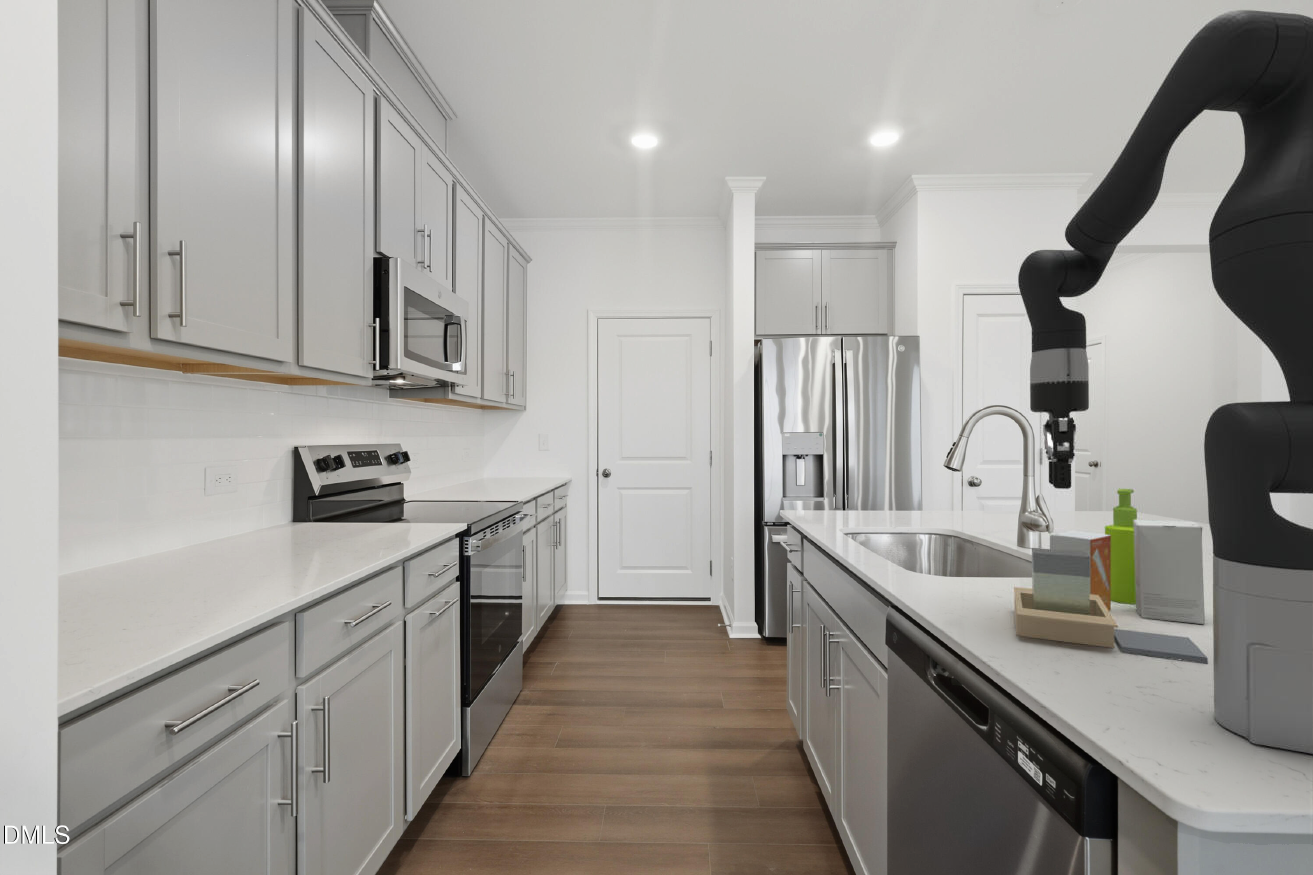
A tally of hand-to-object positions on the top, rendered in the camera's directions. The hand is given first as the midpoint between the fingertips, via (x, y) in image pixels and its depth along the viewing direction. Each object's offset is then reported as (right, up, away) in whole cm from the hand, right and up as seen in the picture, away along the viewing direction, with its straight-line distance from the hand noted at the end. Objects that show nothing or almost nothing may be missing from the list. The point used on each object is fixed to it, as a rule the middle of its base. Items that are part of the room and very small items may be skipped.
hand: (1059, 486), depth 94 cm
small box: (+10, -22, +10) cm, 27 cm away
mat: (+8, -22, -8) cm, 25 cm away
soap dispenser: (+23, -22, +17) cm, 36 cm away
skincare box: (+22, -22, +6) cm, 32 cm away
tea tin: (0, -22, 0) cm, 22 cm away
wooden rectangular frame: (0, -22, 0) cm, 22 cm away
